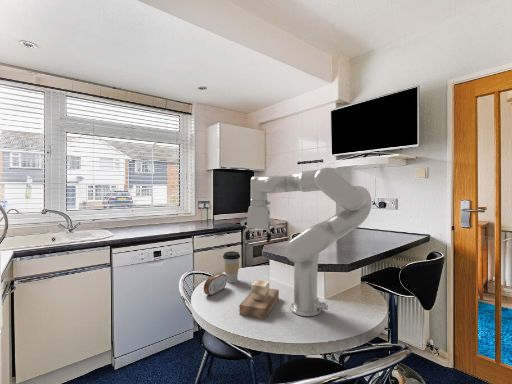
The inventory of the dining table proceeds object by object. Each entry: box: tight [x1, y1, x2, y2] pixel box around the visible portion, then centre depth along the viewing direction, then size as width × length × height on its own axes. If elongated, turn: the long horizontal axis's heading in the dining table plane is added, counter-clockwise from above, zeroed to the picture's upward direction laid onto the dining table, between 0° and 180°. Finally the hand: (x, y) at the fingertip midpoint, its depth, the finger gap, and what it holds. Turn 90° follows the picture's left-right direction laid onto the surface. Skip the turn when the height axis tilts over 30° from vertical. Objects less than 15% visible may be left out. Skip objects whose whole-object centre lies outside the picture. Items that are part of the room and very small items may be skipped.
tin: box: [203, 272, 228, 296], centre depth 137 cm, size 15×3×8 cm, turn 149°
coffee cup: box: [222, 250, 241, 284], centre depth 152 cm, size 9×9×15 cm
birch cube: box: [250, 279, 270, 301], centre depth 122 cm, size 6×6×6 cm
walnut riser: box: [238, 288, 280, 320], centre depth 123 cm, size 11×20×4 cm, turn 160°
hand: (258, 240), depth 130 cm, fingers open, 9 cm apart
